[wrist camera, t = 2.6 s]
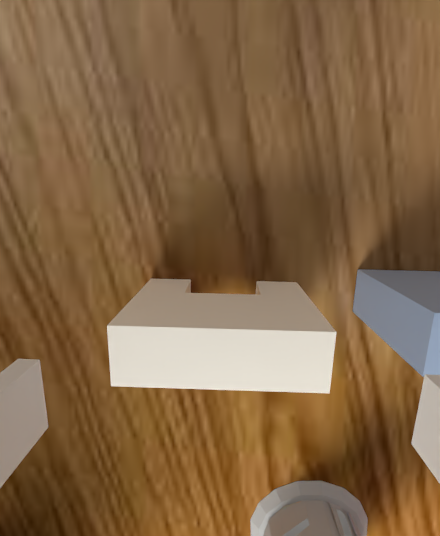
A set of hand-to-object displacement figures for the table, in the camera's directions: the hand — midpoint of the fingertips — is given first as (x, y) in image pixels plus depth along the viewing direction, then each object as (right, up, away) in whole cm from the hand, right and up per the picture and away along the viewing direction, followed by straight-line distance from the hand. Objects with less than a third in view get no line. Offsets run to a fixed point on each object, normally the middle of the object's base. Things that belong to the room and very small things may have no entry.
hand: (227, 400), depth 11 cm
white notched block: (0, +2, +11) cm, 11 cm away
